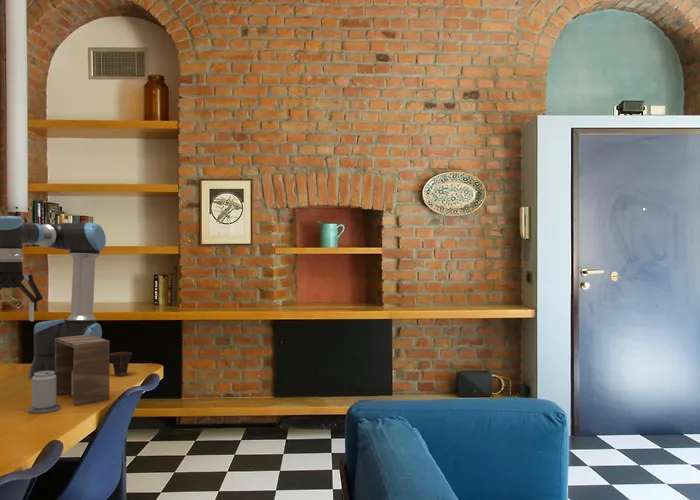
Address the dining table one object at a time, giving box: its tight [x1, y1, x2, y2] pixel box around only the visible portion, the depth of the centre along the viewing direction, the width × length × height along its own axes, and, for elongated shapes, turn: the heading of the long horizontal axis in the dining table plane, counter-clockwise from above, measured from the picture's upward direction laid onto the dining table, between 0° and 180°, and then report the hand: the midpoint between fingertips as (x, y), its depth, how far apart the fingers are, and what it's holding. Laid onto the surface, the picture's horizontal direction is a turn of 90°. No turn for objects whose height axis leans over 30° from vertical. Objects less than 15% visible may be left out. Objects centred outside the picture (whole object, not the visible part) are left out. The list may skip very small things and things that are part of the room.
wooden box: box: [55, 335, 111, 407], centre depth 220 cm, size 19×12×21 cm, turn 45°
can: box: [31, 371, 57, 410], centre depth 204 cm, size 8×8×12 cm
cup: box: [110, 351, 133, 377], centre depth 256 cm, size 9×9×10 cm
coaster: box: [27, 403, 62, 415], centre depth 204 cm, size 10×10×1 cm
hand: (10, 322), depth 208 cm, fingers open, 13 cm apart
